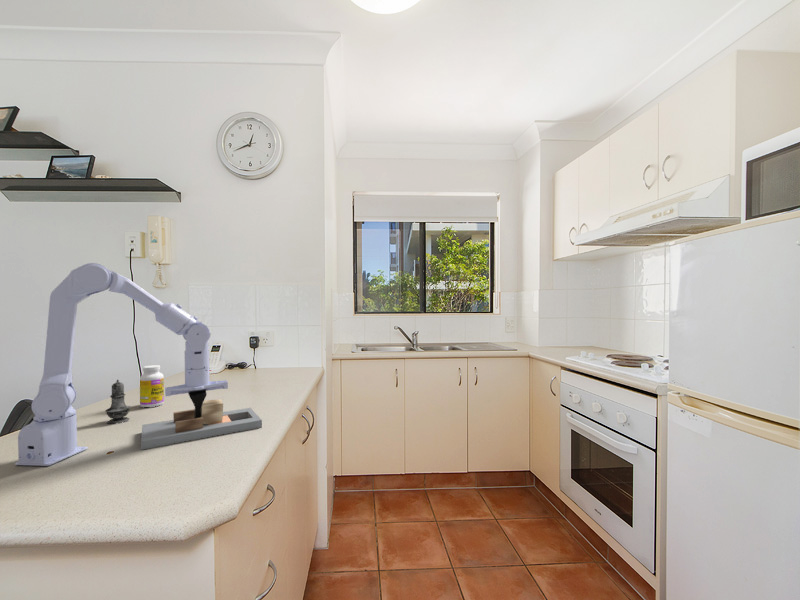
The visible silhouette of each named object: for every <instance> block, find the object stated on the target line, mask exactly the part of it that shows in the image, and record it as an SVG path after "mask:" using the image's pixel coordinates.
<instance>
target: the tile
mask: <svg viewBox="0 0 800 600" xmlns="http://www.w3.org/2000/svg"><path fill="white" fill-rule="evenodd" d="M230 421H231V420H230V418H229V417H228V416H227V415H225V416H223V419H222V422H221V423H225V422H230ZM213 424H219V423H212V424H208V425H213Z"/></svg>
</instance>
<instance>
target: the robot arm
mask: <svg viewBox="0 0 800 600" xmlns="http://www.w3.org/2000/svg"><path fill="white" fill-rule="evenodd" d="M107 290H108V292H111V293H115V294H116V293H117V294H122V295H125V296H127V297H128V298H129V299H131V300H133V301H134V302H136V303H138V304H140V305H141V306H142V307H145V308H146V309H148V310H149V311H151V312H152V313H154V316H155V317H154V318H155V321H156V322H157V323H159V324H160V325H162V326H163V327H165V328H167V329H169V331H170V332H172V333H174V334H176V335H178V336H182V337H183V339H184V341H185V344H184V346H185V347H184V348H185V350H184V352H183V353H184V383H183V384H180V385H174V386H166V387H165V386H164V397H170V396H176V395H182V394H188V396H189V398H190V400H191V401H192V403H193V406H194V409H195V413H194V417H195V418H200V417H201V410H200V409H201V406H202V404H203V401H205V400H206V397H207V393H208V391H214V390H222V389H223V390H227V389H228V388H229V383H228V380H226V379H225V380H212V381H211V380H210V350H209V340H210V338H211V332H210V329H209V327H208V325H206V324H204V323H203V322H201V321H198V320H199V317H197V316H196V315H194V316H193V315H191V314H189V313H188V312H187V311H185V310H184V309H182V308H183V306H182V305H180V304H179V303H177V304H175V303H174V302H168V303H166V302H165V303H163V302H162V301H161V300H159V299H158V298H156V297H155V296H154V295H152V294H151V293H149V292H148V291H146V290H145V289H144V288H142V287H141V286H139V285H138V284H136V283H135V282H134V281H132V280H131V279H130V278H128V277H126V276H123V275H121V274H120V273H117V272H115V271H113V270H110V269H109V268H107V267H106V266H104V265H102V264H101V263H97V262H91V263H89V262H88V263H85V264H82V265H81V266H78V267H76V268H74V269H72V270H71V271H70V272H69V274H68V275H67V276H66V277H65V278H64V279H63V280H62V281H61V282H60V283H59V284H58V286H56V287H55V288H54V289H53V290H52V291H51V293H50V296H49V307H48V317H47V329H46V339H45V351H44V362H43V363H44V364H43V374H42V377H41V381H40V382H39V386H38V392H37V394H36V396H35V397H34V398H33V400H32V402H31V406H30V407H31V411H32V413H33V414H34V416H33V420H32V421H31V422H30V423H29V424H26V425H25V426H23V427H22V428H20V431H19V432H18V437H17V445H18V446H17V449H18V455H17V456H18V461H16V462H15V463H14V465H15V466H39V467H40V466H41V467H42V466H43V467H48V466H52V465H54V464H56V463H58V462H60V461H63V460H65V459H67V458H69V457H72V456H74V455H76V454H79V453H81V452H83V451H86V450H87V449H88V446H79V445H78V422H77V421H78V419H77V418H78V416H77V410H76V409H75V408H74V407H73V406H72V405H73V404H74V403H75V401H76V399H77V391H76V389H75V387H74V385H73V371H72V370H73V360H74V347H75V335H76V325H77V324H76V323H77V315H78V313H77V312H78V311H77V310H78V304H79V303H81V302H82V301H84V300H86V299H88V298H89V297H90V296H92V295H94V294H98V293H101V292H104V291H107Z"/></svg>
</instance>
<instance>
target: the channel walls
mask: <svg viewBox="0 0 800 600" xmlns="http://www.w3.org/2000/svg"><path fill="white" fill-rule="evenodd" d="M194 413H195V408H194V409H189V410H188V409H187V410H181V411H174V412H173V420H174V423H175V431H176V433H179V432H184V431H190V430H196V429H202V428H203V417H200V418H195V417H194Z"/></svg>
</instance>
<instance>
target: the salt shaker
mask: <svg viewBox="0 0 800 600" xmlns="http://www.w3.org/2000/svg"><path fill="white" fill-rule="evenodd" d="M124 385H125V384H124V383H123V382H120V380H119V379H116V381H115V382H114V383H113V384H111V395H110V396H109V397H110V399H111V404H110V407H108V408H107V409H105V413H106V415H107V417H108V418H110V419H109V420H107V422H106V424H108V425H117V424H116V423H118V424H123V423H126V422H129V421H130V420H129V419H130V418H129V417H126V416H127V415H128V414H129V412H130V409H131V406H130V405H126V402H125V396H126V394H125V386H124ZM128 420H129V421H128ZM125 421H126V422H125ZM122 422H123V423H122Z"/></svg>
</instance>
